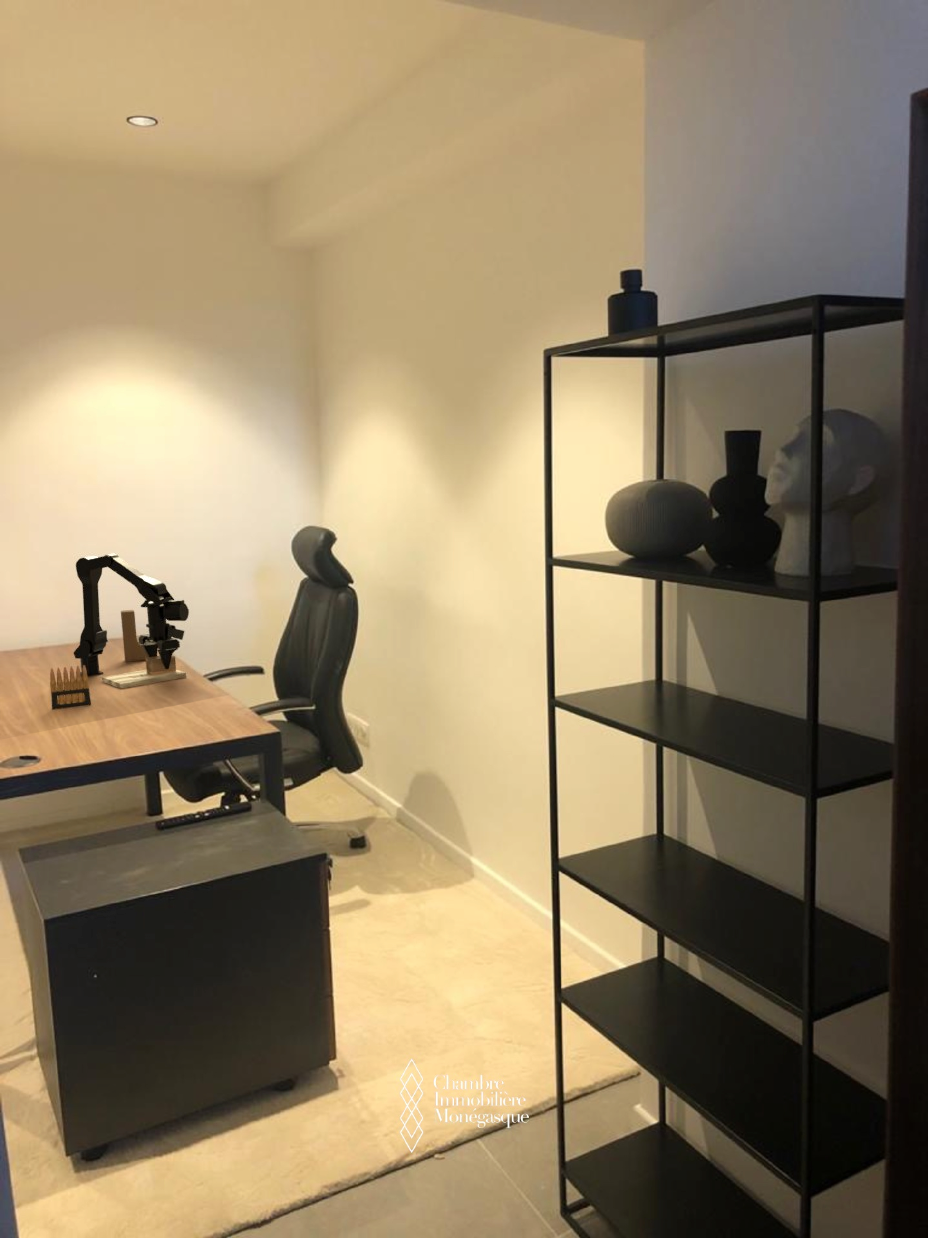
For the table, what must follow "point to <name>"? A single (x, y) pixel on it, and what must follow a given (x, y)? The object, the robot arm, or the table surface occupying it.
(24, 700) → the table surface
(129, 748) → the table surface
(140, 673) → the pine board
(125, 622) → the wooden block
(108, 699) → the table surface
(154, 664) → the block
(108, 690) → the table surface
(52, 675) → the ammunition clip
